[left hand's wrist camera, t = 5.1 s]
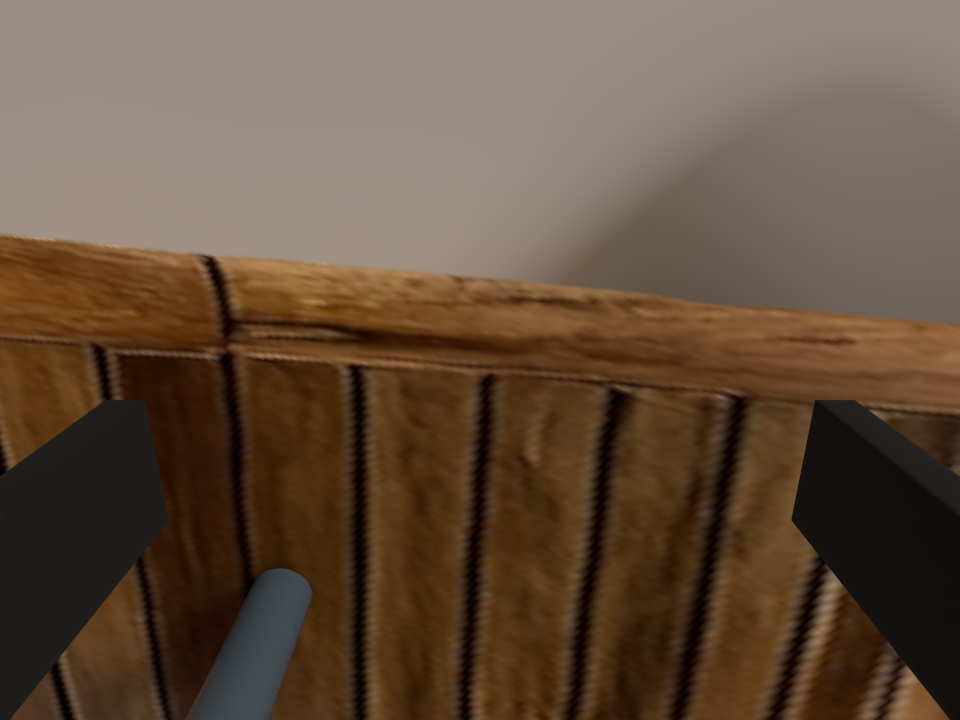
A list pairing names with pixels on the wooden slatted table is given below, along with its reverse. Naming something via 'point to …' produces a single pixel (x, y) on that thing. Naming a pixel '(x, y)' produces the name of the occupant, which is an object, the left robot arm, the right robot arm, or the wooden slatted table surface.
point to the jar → (256, 650)
